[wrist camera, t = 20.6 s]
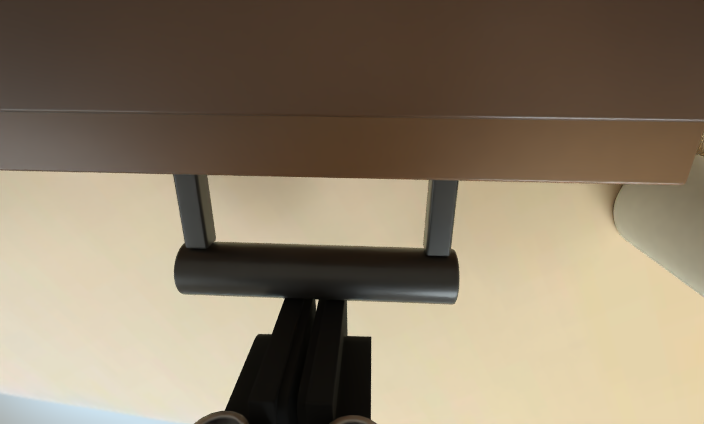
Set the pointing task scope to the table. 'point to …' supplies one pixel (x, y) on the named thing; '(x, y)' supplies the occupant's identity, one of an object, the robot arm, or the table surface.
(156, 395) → the table surface
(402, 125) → the drawer
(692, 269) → the marker
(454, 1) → the cabinet
